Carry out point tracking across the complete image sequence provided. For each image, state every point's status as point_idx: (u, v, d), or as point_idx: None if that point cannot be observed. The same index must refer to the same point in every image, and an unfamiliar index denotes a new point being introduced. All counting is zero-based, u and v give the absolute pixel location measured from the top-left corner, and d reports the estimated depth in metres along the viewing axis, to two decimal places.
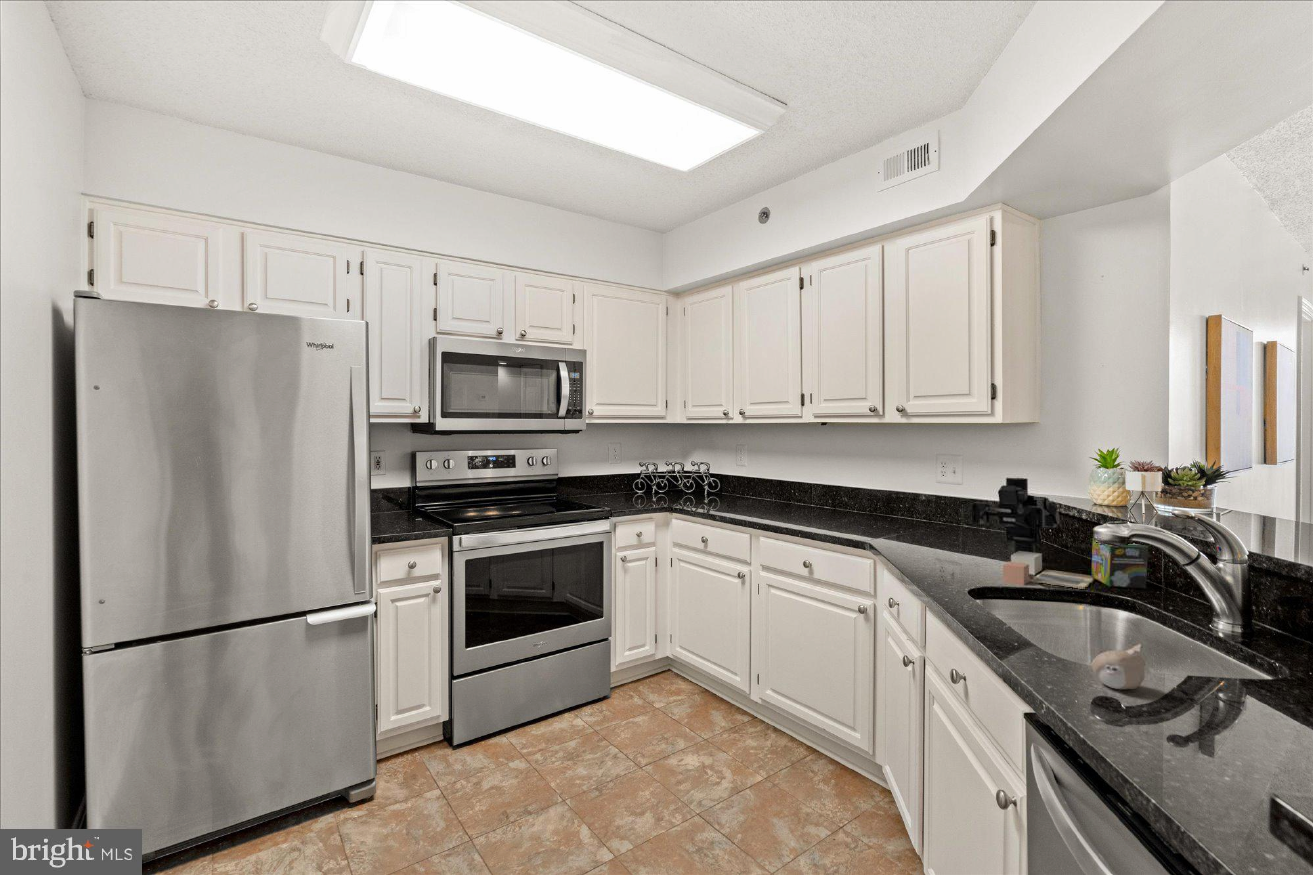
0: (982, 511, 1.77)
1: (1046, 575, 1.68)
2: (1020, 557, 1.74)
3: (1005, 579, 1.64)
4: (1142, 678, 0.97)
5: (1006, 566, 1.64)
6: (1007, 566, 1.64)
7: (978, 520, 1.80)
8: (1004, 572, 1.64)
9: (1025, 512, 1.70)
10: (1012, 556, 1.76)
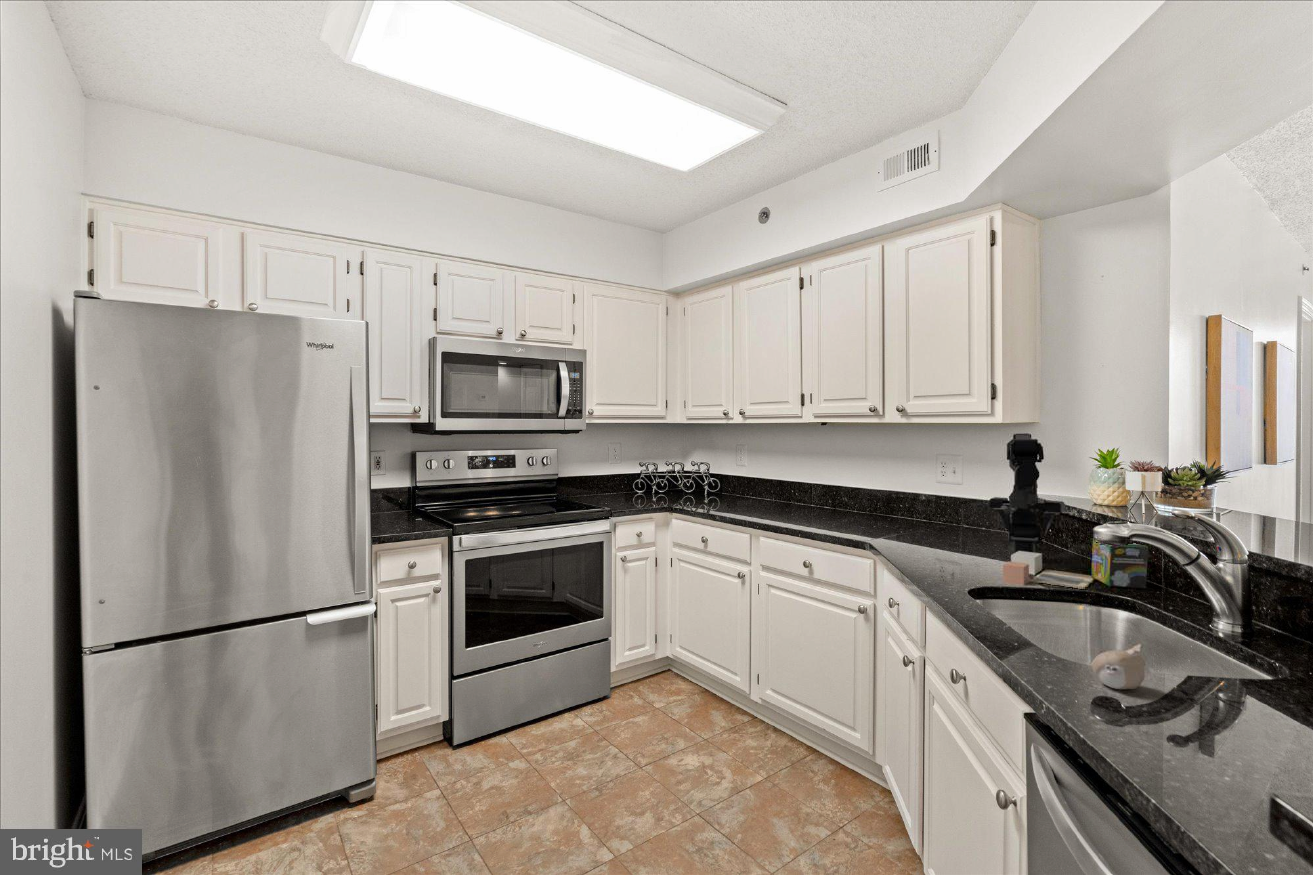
0: (1005, 520, 1.79)
1: (1046, 575, 1.68)
2: (1020, 557, 1.74)
3: (1005, 579, 1.64)
4: (1142, 678, 0.97)
5: (1006, 566, 1.64)
6: (1007, 566, 1.64)
7: None
8: (1004, 572, 1.64)
9: (1046, 518, 1.71)
10: (1012, 556, 1.76)
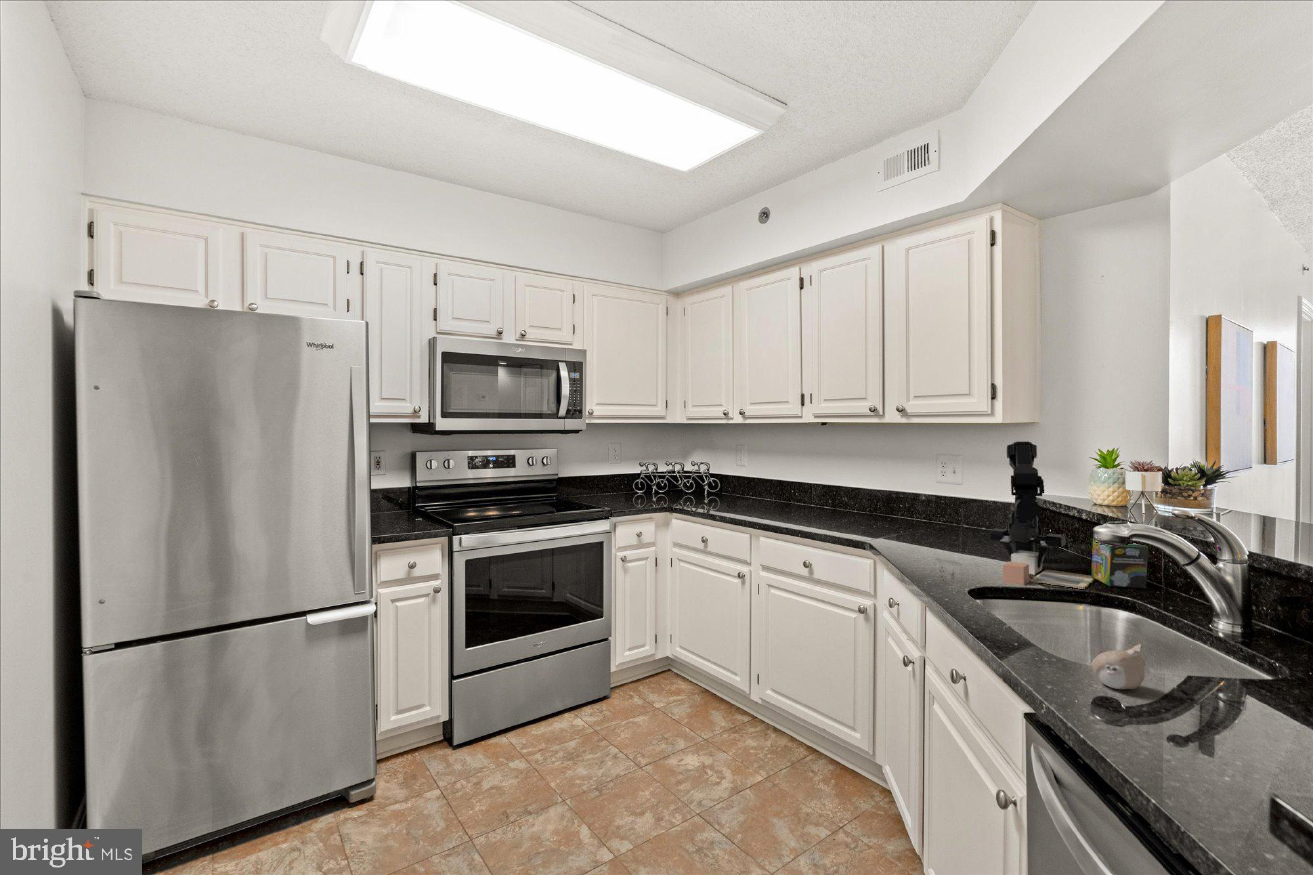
0: (1011, 553, 1.79)
1: (1046, 575, 1.68)
2: (1020, 556, 1.74)
3: (1005, 579, 1.64)
4: (1142, 678, 0.97)
5: (1006, 566, 1.64)
6: (1007, 566, 1.64)
7: None
8: (1004, 572, 1.64)
9: (1041, 551, 1.72)
10: (1012, 556, 1.76)
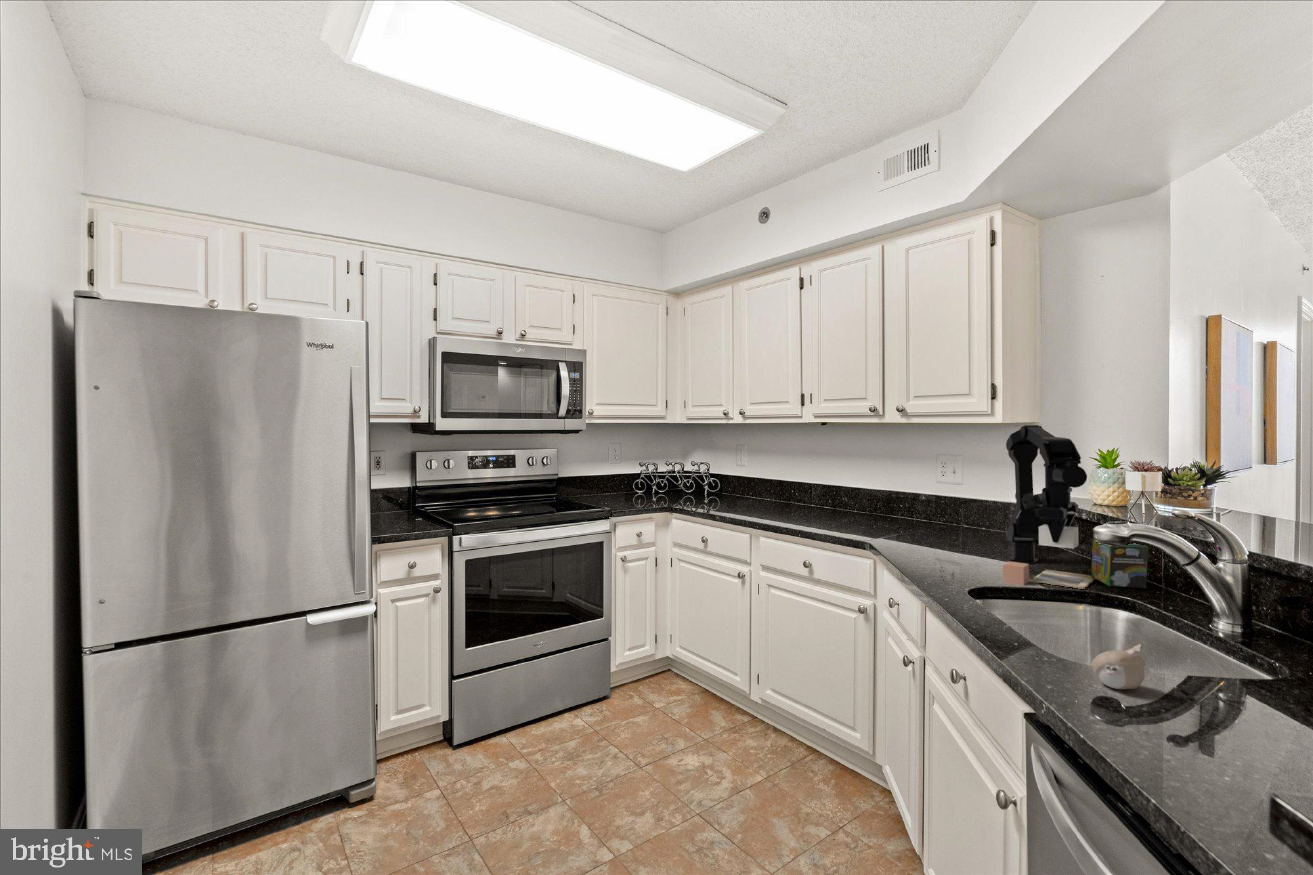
0: None
1: (1046, 575, 1.68)
2: None
3: (1005, 579, 1.64)
4: (1142, 678, 0.97)
5: (1006, 566, 1.64)
6: (1007, 566, 1.64)
7: None
8: (1004, 572, 1.64)
9: None
10: None
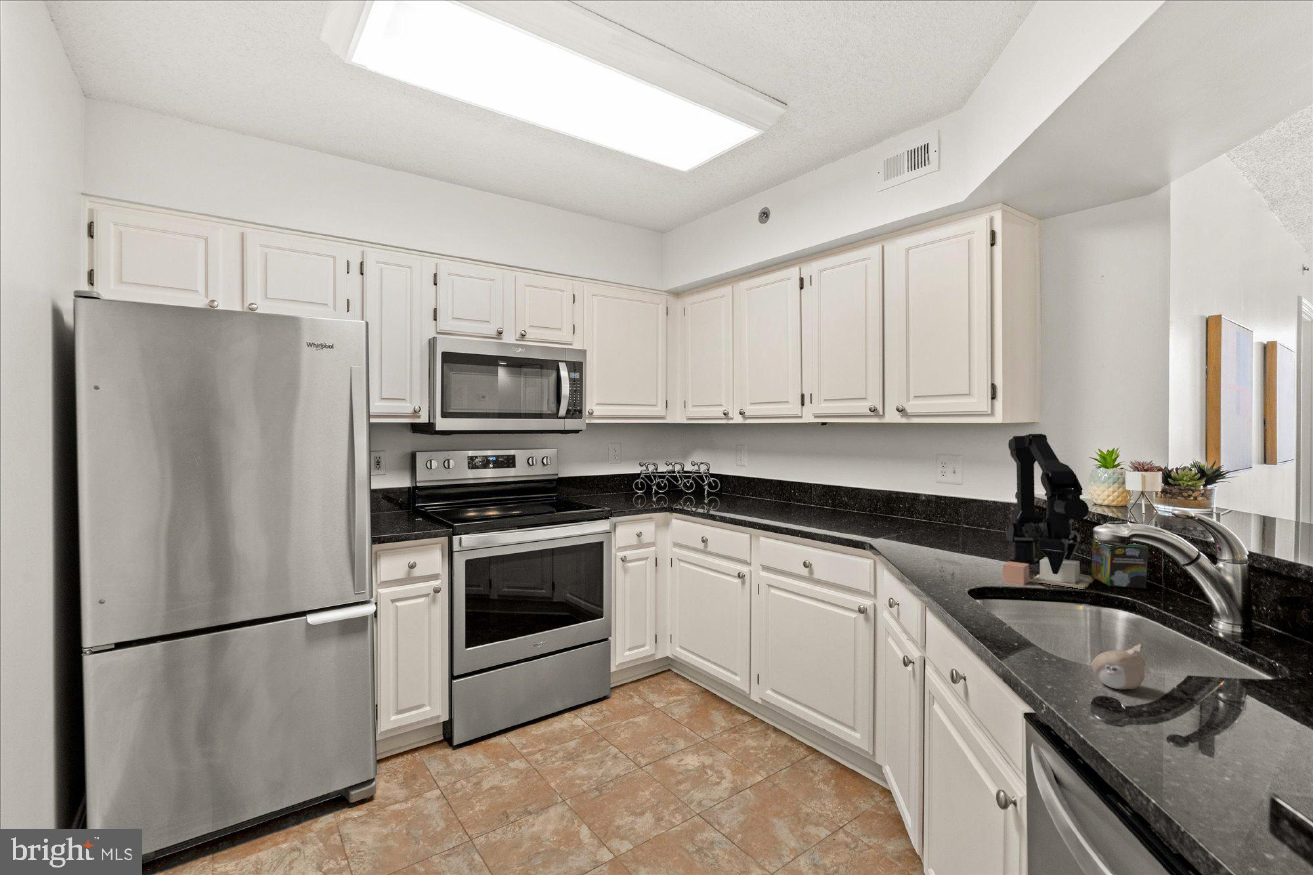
0: None
1: None
2: None
3: (1005, 579, 1.64)
4: (1142, 678, 0.97)
5: (1006, 566, 1.64)
6: (1007, 566, 1.64)
7: None
8: (1004, 572, 1.64)
9: None
10: None
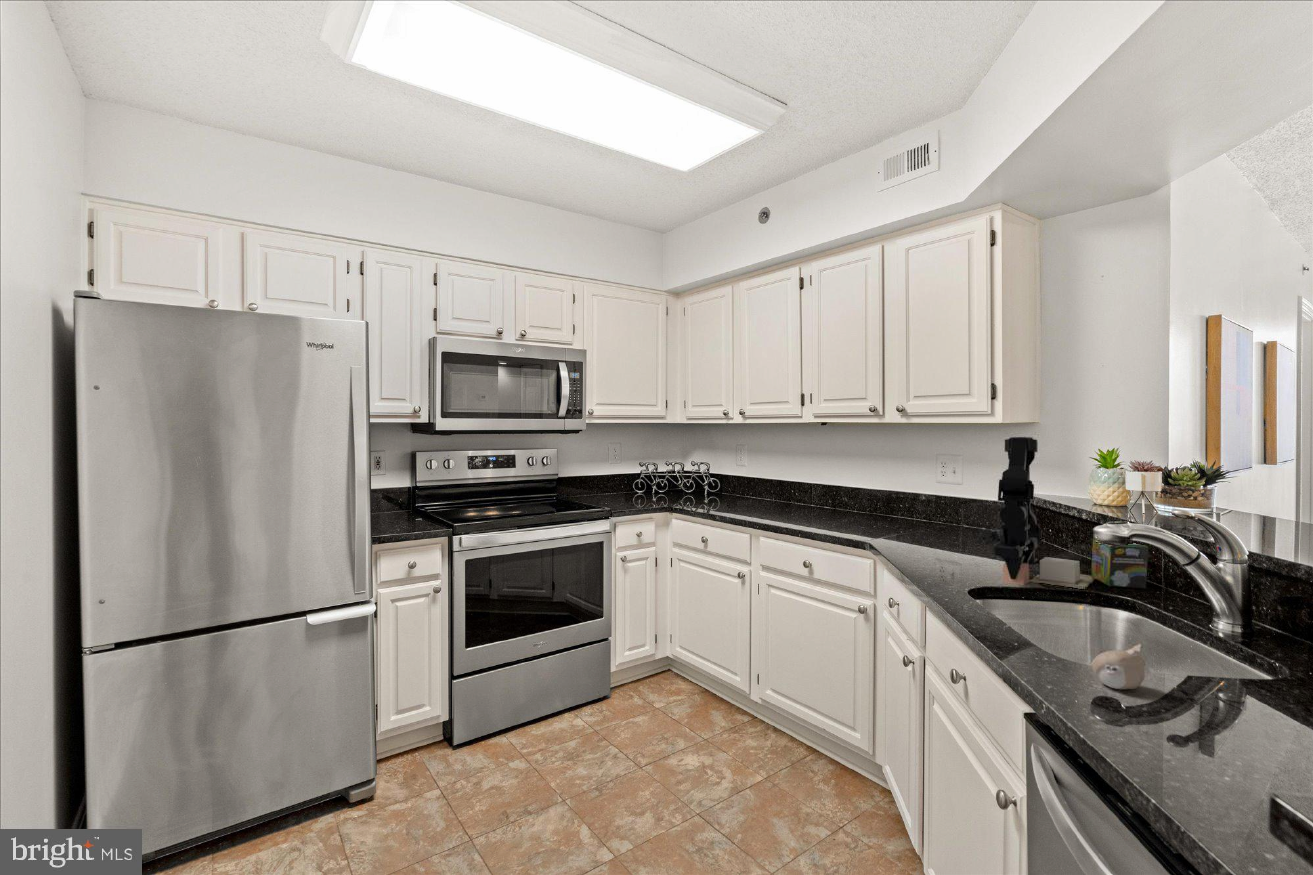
0: None
1: None
2: None
3: (1005, 579, 1.64)
4: (1142, 678, 0.97)
5: (1006, 566, 1.64)
6: None
7: None
8: (1004, 572, 1.64)
9: None
10: None
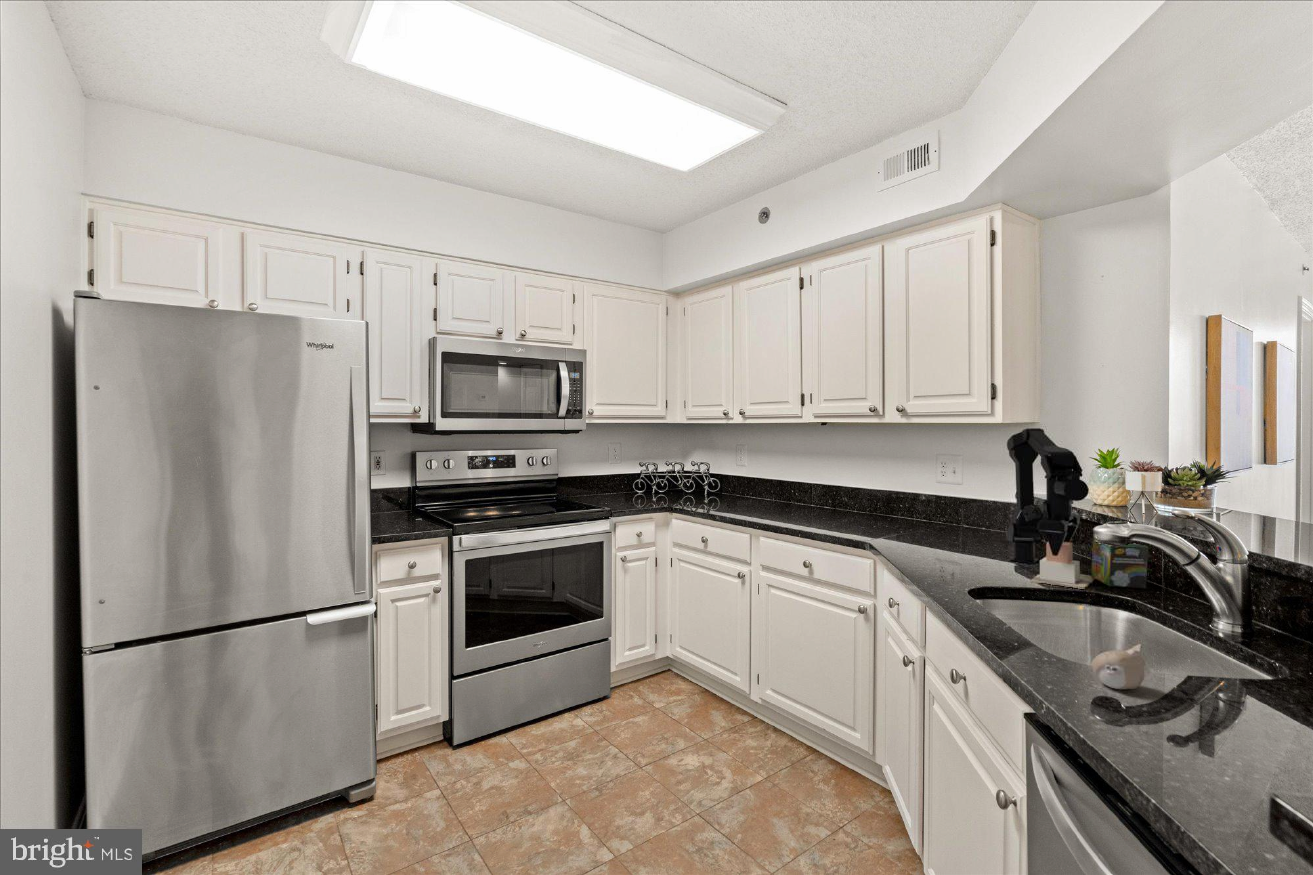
0: None
1: None
2: None
3: (1048, 558, 1.64)
4: (1142, 678, 0.97)
5: (1049, 545, 1.63)
6: None
7: None
8: (1047, 551, 1.64)
9: None
10: None
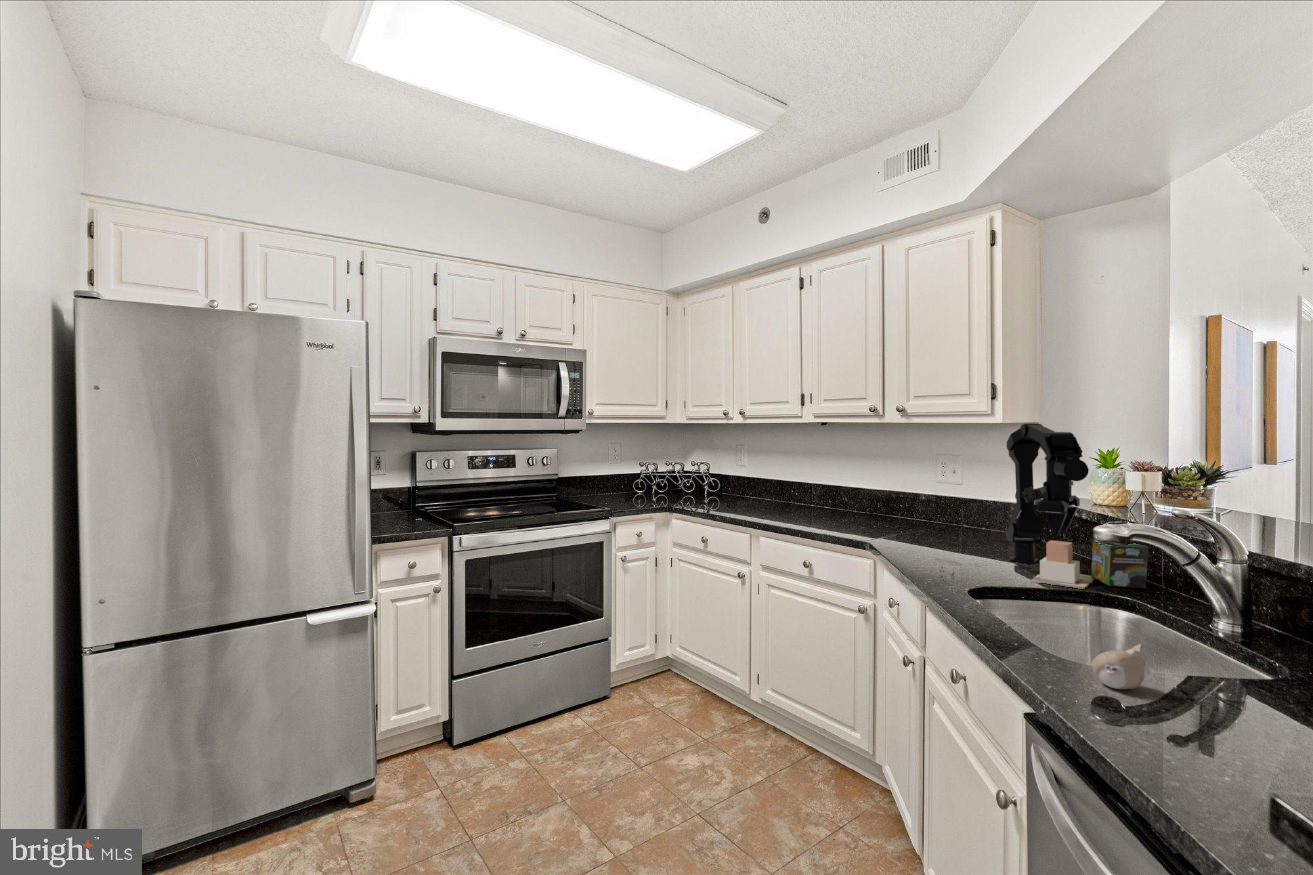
0: None
1: None
2: None
3: (1048, 558, 1.64)
4: (1142, 678, 0.97)
5: (1049, 545, 1.63)
6: (1051, 545, 1.63)
7: None
8: (1047, 551, 1.64)
9: None
10: None
